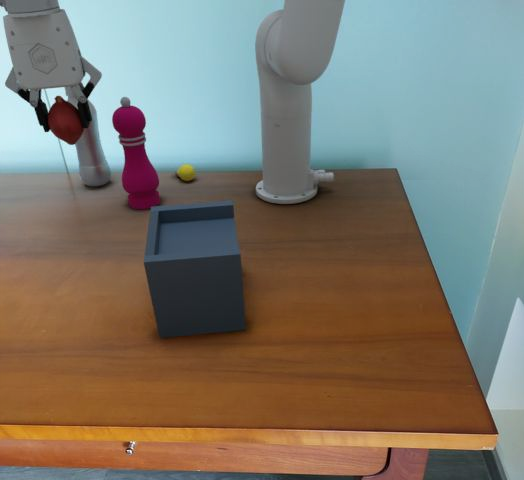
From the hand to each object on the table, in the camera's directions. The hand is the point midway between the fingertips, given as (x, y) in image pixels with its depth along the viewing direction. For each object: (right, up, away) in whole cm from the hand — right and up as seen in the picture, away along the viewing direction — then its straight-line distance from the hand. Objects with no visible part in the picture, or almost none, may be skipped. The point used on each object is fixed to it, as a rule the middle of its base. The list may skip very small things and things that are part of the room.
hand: (67, 126), depth 89 cm
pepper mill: (+9, -8, +17) cm, 21 cm away
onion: (0, -2, +2) cm, 3 cm away
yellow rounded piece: (+16, -1, +26) cm, 31 cm away
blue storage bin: (+24, -31, -10) cm, 40 cm away
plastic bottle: (-3, -2, +26) cm, 26 cm away
